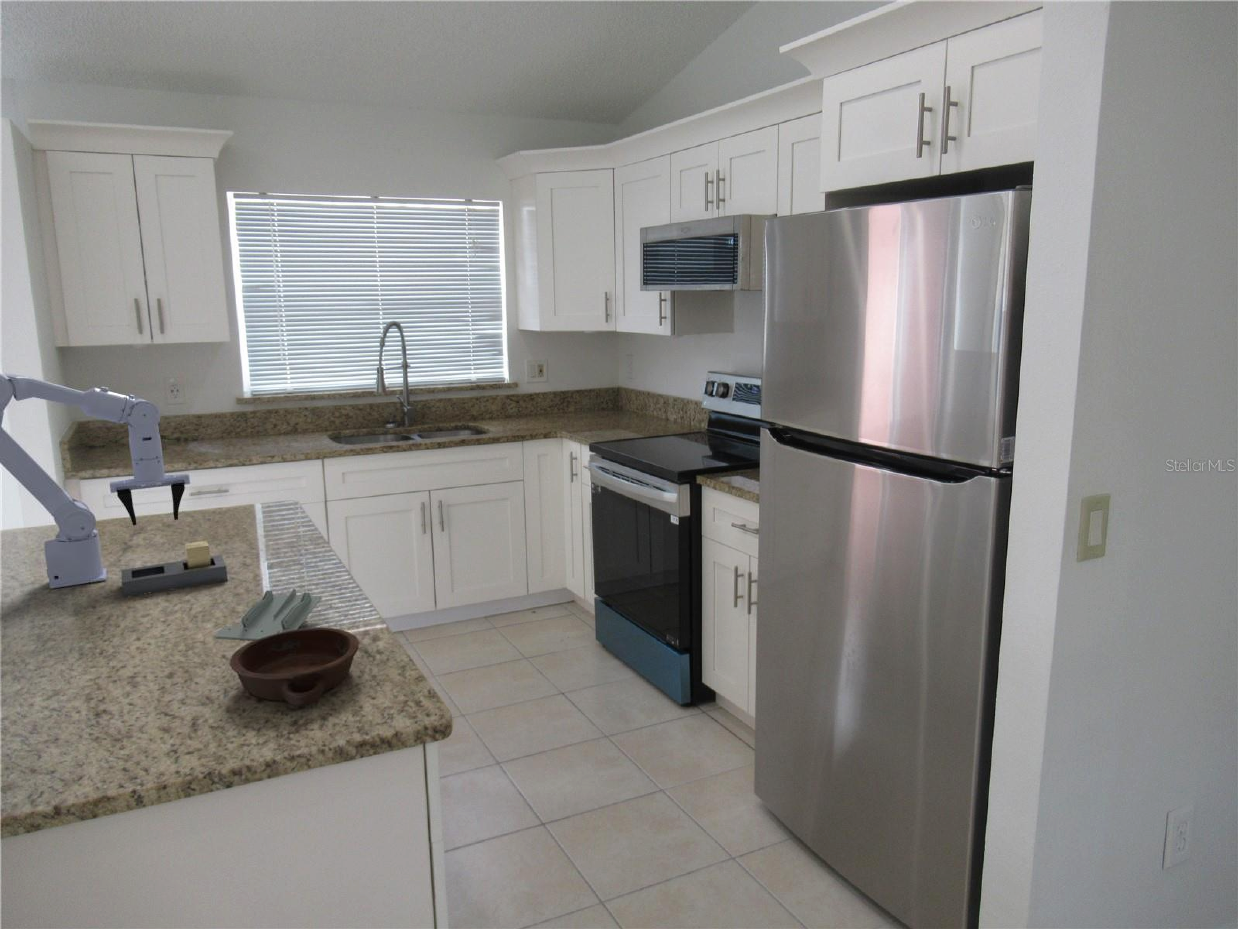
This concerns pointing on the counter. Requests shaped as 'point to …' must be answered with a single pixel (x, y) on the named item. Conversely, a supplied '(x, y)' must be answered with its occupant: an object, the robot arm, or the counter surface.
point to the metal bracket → (272, 616)
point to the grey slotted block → (171, 576)
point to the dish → (295, 664)
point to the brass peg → (197, 555)
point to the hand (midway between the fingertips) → (155, 521)
